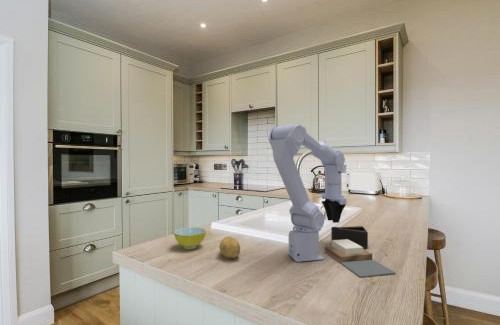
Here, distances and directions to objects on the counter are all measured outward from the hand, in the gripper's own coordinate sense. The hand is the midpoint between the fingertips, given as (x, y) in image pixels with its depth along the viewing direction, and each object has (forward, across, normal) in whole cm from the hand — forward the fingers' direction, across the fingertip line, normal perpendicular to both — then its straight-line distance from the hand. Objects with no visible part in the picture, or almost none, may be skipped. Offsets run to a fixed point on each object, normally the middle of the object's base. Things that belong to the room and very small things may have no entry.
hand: (333, 221), depth 98 cm
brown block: (+9, -10, 0) cm, 13 cm away
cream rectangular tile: (+7, -9, 0) cm, 12 cm away
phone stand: (+6, -1, -13) cm, 14 cm away
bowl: (+10, +11, +51) cm, 53 cm away
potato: (+10, -1, +38) cm, 39 cm away
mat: (+9, -20, 0) cm, 22 cm away
